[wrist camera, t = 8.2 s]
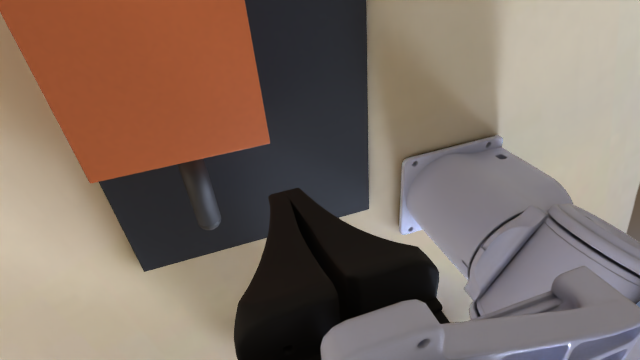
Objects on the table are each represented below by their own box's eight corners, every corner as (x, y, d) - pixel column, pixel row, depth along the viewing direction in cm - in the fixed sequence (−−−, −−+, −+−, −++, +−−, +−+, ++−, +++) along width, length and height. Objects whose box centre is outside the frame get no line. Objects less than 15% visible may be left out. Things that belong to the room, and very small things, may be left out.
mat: (361, -131, 19) (364, -132, 18) (367, 206, 31) (369, 209, 31) (-44, -107, 15) (-49, -108, 15) (144, 268, 27) (144, 272, 27)
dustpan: (226, -101, 14) (-50, -81, 12) (286, 232, 23) (137, 274, 21) (217, -90, 17) (4, -73, 16) (271, 194, 27) (143, 227, 25)
